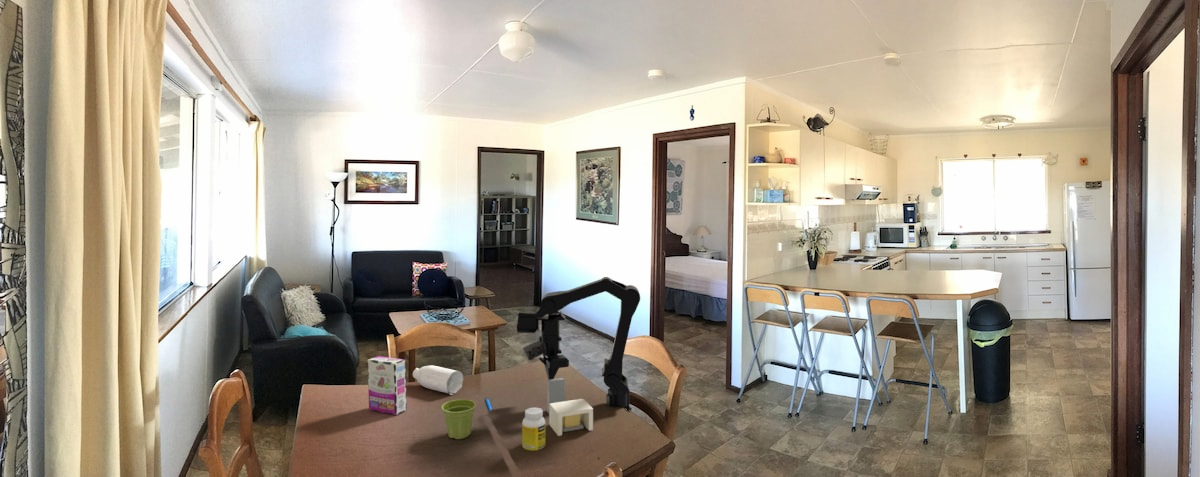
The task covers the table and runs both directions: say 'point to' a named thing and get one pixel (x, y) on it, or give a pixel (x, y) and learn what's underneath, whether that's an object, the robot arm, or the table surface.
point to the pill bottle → (533, 429)
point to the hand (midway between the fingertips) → (550, 381)
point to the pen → (488, 404)
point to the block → (571, 421)
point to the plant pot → (459, 417)
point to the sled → (558, 397)
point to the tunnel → (570, 413)
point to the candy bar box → (387, 385)
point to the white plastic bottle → (439, 378)
